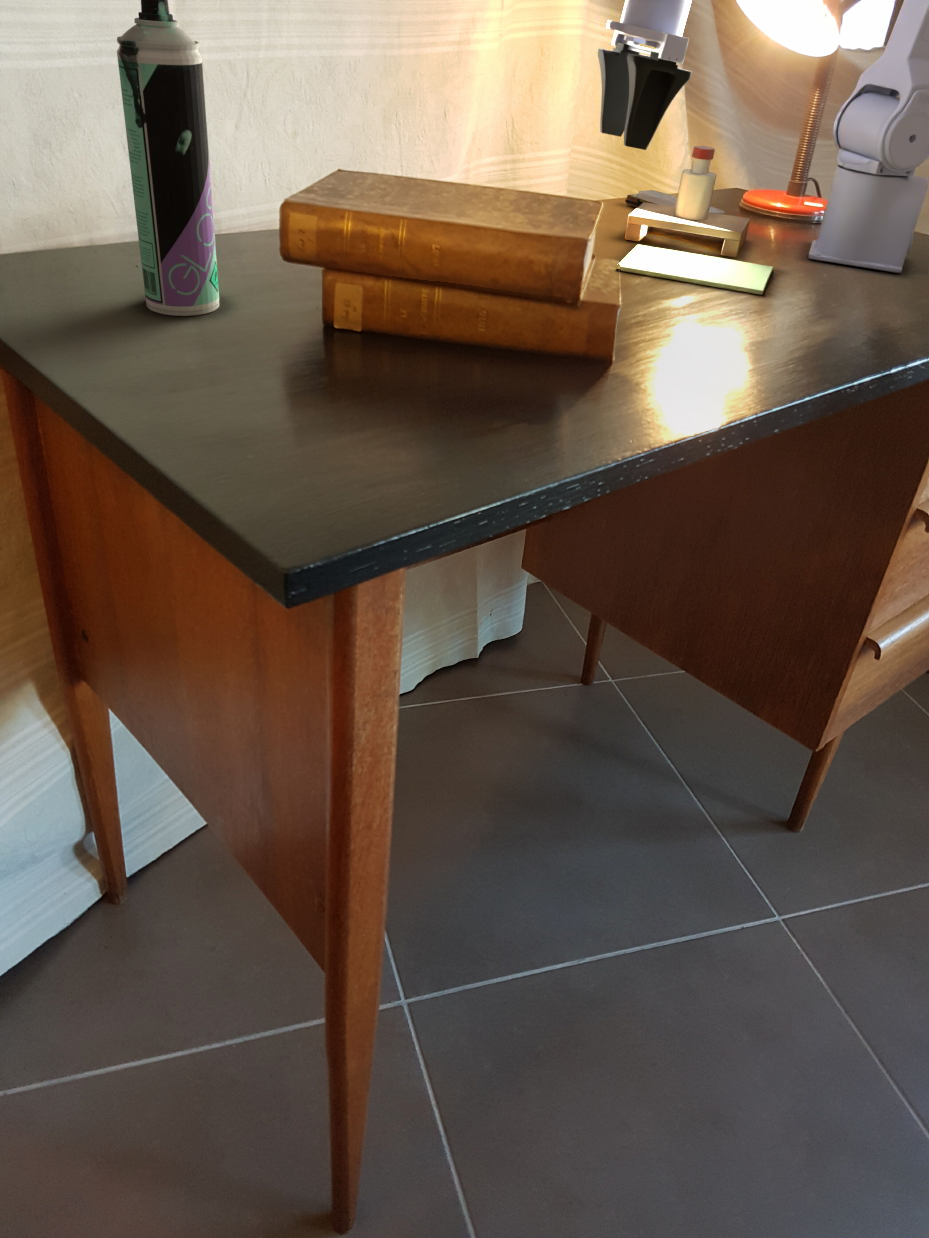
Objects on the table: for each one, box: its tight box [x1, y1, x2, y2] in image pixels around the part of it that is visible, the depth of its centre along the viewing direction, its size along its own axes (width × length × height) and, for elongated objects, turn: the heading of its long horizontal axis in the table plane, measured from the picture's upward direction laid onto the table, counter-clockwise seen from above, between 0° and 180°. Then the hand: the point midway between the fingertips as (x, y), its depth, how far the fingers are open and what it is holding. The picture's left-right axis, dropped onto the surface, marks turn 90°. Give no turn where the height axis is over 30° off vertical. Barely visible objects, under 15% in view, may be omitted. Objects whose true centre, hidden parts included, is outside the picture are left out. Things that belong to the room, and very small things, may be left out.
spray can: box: [116, 0, 220, 317], centre depth 68 cm, size 6×6×20 cm
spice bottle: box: [674, 145, 717, 221], centre depth 101 cm, size 4×4×7 cm
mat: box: [618, 244, 774, 296], centre depth 94 cm, size 14×10×1 cm
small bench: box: [624, 202, 751, 258], centre depth 104 cm, size 12×8×2 cm, turn 69°
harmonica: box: [624, 189, 725, 215], centre depth 113 cm, size 15×3×2 cm, turn 36°
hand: (622, 141), depth 91 cm, fingers open, 7 cm apart
